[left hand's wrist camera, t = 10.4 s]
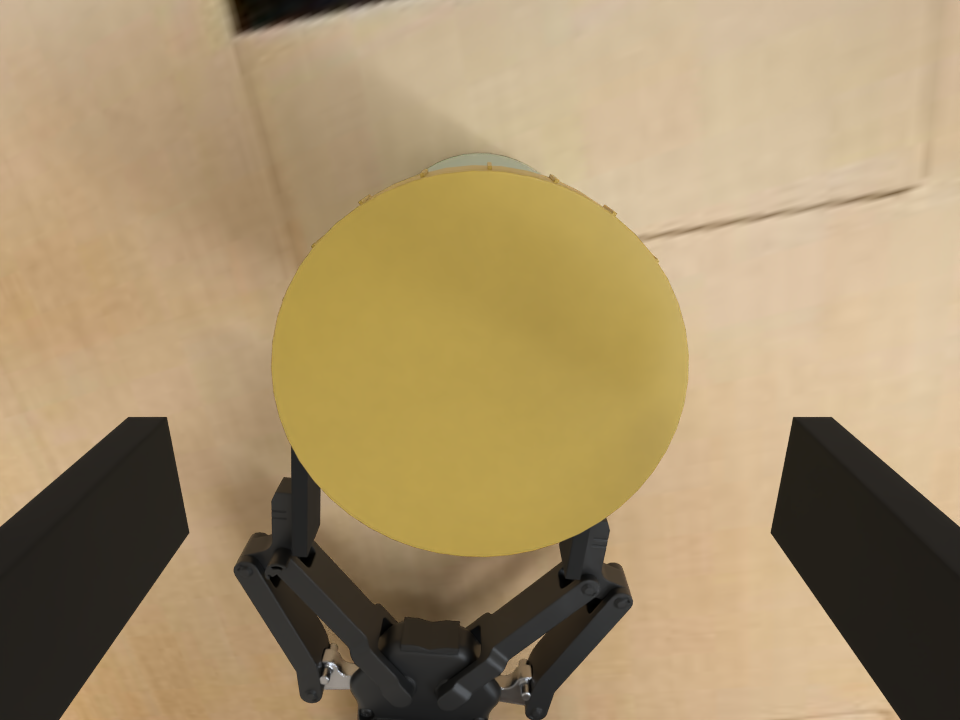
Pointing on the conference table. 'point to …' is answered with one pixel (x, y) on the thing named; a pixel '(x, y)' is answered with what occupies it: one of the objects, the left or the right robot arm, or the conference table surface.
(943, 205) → the conference table surface
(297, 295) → the lid
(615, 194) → the conference table surface
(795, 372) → the conference table surface
